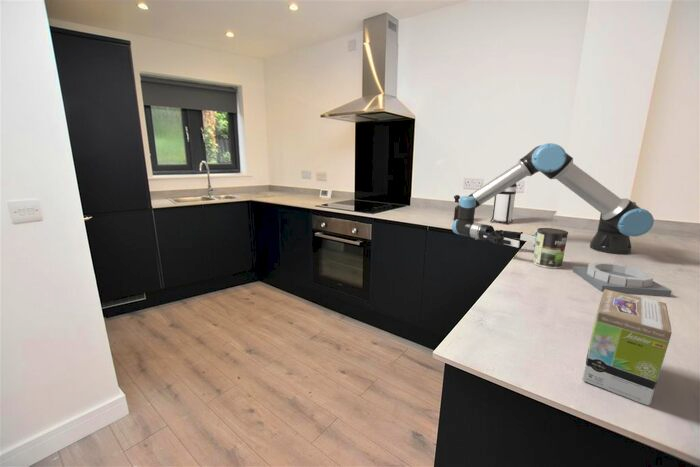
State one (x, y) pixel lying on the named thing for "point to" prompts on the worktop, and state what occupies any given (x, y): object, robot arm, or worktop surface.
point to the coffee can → (550, 247)
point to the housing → (621, 279)
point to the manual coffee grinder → (456, 207)
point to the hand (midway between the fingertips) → (527, 242)
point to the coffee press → (504, 205)
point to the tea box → (628, 345)
